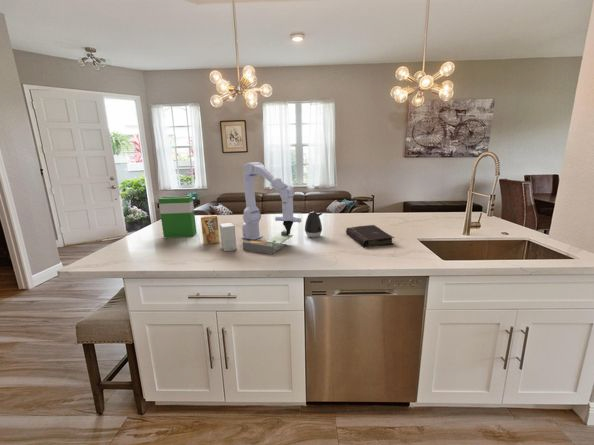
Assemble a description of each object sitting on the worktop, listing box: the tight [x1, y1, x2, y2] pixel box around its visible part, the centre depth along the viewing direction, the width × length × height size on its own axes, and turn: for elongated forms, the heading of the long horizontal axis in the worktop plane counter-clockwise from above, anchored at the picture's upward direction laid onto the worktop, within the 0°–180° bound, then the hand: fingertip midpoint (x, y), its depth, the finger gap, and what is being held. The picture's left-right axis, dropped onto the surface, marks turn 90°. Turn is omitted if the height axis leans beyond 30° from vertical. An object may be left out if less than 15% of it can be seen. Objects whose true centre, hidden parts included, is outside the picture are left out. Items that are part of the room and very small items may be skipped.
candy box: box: [200, 214, 221, 245], centre depth 164 cm, size 9×4×15 cm, turn 110°
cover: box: [265, 230, 294, 244], centre depth 154 cm, size 16×8×3 cm, turn 155°
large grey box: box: [242, 240, 287, 255], centre depth 155 cm, size 18×15×4 cm
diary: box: [345, 224, 395, 248], centre depth 164 cm, size 19×25×5 cm
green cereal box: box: [157, 195, 198, 238], centre depth 178 cm, size 18×7×24 cm, turn 94°
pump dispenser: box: [304, 210, 323, 238], centre depth 171 cm, size 10×10×15 cm
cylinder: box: [249, 240, 268, 245], centre depth 153 cm, size 10×3×3 cm, turn 63°
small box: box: [219, 222, 237, 252], centre depth 154 cm, size 8×6×13 cm
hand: (288, 234), depth 158 cm, fingers closed
